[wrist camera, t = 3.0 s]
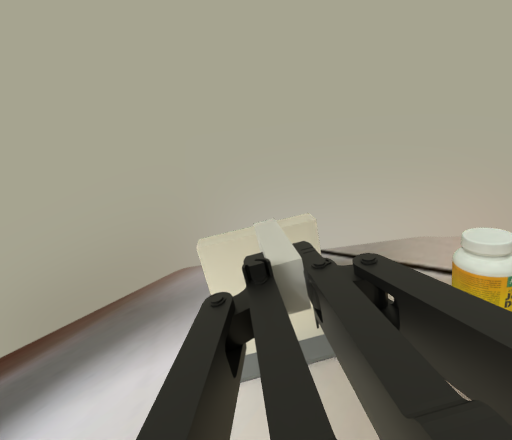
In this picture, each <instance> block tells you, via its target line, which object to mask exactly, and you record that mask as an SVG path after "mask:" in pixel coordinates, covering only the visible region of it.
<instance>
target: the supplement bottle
mask: <svg viewBox="0 0 512 440" xmlns="http://www.w3.org/2000/svg"><path fill="white" fill-rule="evenodd" d="M461 245H462V247H461V248H459V249H458V250H456V251H455V253H454V255H453V262H452V286H453V287H455V288H458V289H460V290H462V291H465V292H467V293H469V294H472V295H474V296H476V297H479V298H481V299H483V300H486V301H488V302H490V303H493V304H495V305H497V306H500V307H502V308H504V309H507V310H509V311H511V312H512V233H510V232H508V231H505V230H501V229H495V228H472V229H469V230H466V231H464V232H463V233H462V238H461Z"/></svg>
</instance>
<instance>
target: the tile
mask: <svg viewBox="0 0 512 440" xmlns="http://www.w3.org/2000/svg"><path fill="white" fill-rule="evenodd" d="M277 223H278V224H279V226H280V227H281V229H282V230H283V232H284V233H285V235H286V236H287V237H288V239H289V240H290V242H291V243H292V244H293V243H297V242H301V241H306V242H309V243H310V244H311V245H312V246H313V247H314V248H315V249H316V250H317V252H318V253H319V254H320V255H321V250H320V243H319V237H318V230H317V222H316V219H315V218H314V217H313V216H311V215H310V214H309V213H307V214H302V215H298V216H294V217H290V218H286V219H282V220H277ZM196 249H197V252H198V255H199V258H200V262H201V265H202V268H203V271H204V275H205V278H206V281H207V284H208V288H209V291H210V294H211V295H213V294H215V293H219V292H228V293H230V294H231V295H232V296H235V295H237V294H239V293H240V292H242V291H243V290H244V289H245V288H246V283H245V279H244V275H243V272H242V265H243V264H244V262H243V261H244V259H245V257H246V256H249V255H253V254H257V253H260V249H259V245H258V240H257V236H256V232H255V228H254V226H252V227H248V228H244V229H240V230H235V231H231V232H227V233H223V234H219V235H215V236H210V237H206V238H202V239H199V240H198V244H197V248H196ZM310 305H311V309H308V310H304V311H300V312H297V313H293V314H289V318H290V320H291V323H292V326H293V328H294V331H295V333H296V336H297V339H298V341H300V340H304V339H308V338H312V337H315V336H319V335H323V334H324V332H323V330H322V328H321V326H320V325H319V328H318V329H317V326H316V321H315V315H314V310H313V305H312V303H311V301H310ZM246 347H247V349H246V354H245V355H248V354H252V353H255V352H257V351H256V345H255V339H252V340H250V341H248V342H247V343H246Z"/></svg>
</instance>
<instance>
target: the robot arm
mask: <svg viewBox="0 0 512 440" xmlns="http://www.w3.org/2000/svg"><path fill="white" fill-rule="evenodd" d="M254 228H255V232H256V236H257V240H258V245H259V249H260V253H257V254H253V255H249V256H246V257H245V259H244V261H243V262H244V264H243V265H242V272H243V275H244V279H245V283H246V288H245V289H244V290H243V291H242V292H240V293H239V294H237V295H235V296H232V295H231V294H230V293H228V292H219V293H215V294H213V295H211V296H209V297H208V298H207V299H206V300H205V301H204V302H203V304H202V306H201V308H200V310H199V312H198V314H197V316H196V318H195V320H194V322H193V324H192V326H191V328H190V330H189V333H188V335H187V337H186V339H185V341H184V343H183V345H182V347H181V349H180V351H179V353H178V355H177V357H176V359H175V361H174V363H173V365H172V367H171V369H170V371H169V373H168V375H167V377H166V379H165V381H164V384H163V386H162V388H161V390H160V392H159V394H158V396H157V398H156V400H155V402H154V404H153V406H152V408H151V410H150V412H149V414H148V416H147V418H146V420H145V422H144V424H143V426H142V428H141V430H140V432H139V435H138V437H137V439H136V440H230V435H231V429H232V424H233V419H234V413H235V408H236V402H237V397H238V392H239V386H240V381H241V375H242V370H243V365H244V359H245V354H246V349H247V347H246V343H247V342H248V341H250V340H252V339H255V345H256V351H257V358H258V364H259V370H260V377H261V383H262V389H263V396H264V402H265V408H266V415H267V421H268V427H269V434H270V440H337V439H336V437H335V435H334V433H333V430H332V428H331V425H330V423H329V420H328V417H327V415H326V412H325V409H324V407H323V404H322V402H321V399H320V396H319V394H318V391H317V388H316V386H315V383H314V381H313V378H312V375H311V373H310V370H309V368H308V365H307V362H306V360H305V357H304V354H303V352H302V349H301V347H300V344H299V341H298V339H297V336H296V333H295V331H294V328H293V326H292V323H291V320H290V318H289V314H293V313H297V312H300V311H304V310H308V309H311V305H310V301H311V303H312V305H313V310H314V315H315V321H316V326H317V329H318V328H319V325H320V326H321V328H322V330H323V332H324V334H325V336H326V338H327V340H328V342H329V344H330V345H331V347H332V349H333V351H334V353H335V355H336V357H337V359H338V361H339V362H340V364H341V366H342V368H343V370H344V372H345V374H346V376H347V378H348V380H349V381H350V383H351V385H352V387H353V389H354V391H355V393H356V395H357V397H358V399H359V400H360V402H361V404H362V406H363V408H364V410H365V412H366V414H367V416H368V418H369V419H370V421H371V423H372V425H373V427H374V429H375V431H376V433H377V435H378V436H379V438H380V440H512V312H511V311H509V310H507V309H504V308H502V307H500V306H497V305H495V304H493V303H490V302H488V301H486V300H483V299H481V298H479V297H476V296H474V295H472V294H469V293H467V292H465V291H462V290H460V289H458V288H455V287H453V286H451V285H448V284H446V283H444V282H441V281H439V280H437V279H434V278H432V277H430V276H427V275H425V274H423V273H420V272H418V271H416V270H413V269H411V268H409V267H406V266H404V265H402V264H399V263H397V262H395V261H392V260H390V259H388V258H385V257H383V256H381V255H378V254H372V253H364V254H360V255H357V256H356V257H354V259H353V265H346V266H337V264H336V263H335V262H334V261H332V260H331V259H328V258H323V257H322V256H321V255H320V254H319V253H318V252H317V250H316V249H315V248H314V247H313V246H312V245H311V244H310V243H309V242H306V241H301V242H297V243H293V244H292V243H291V242H290V240H289V239H288V237H287V236H286V235H285V233H284V232H283V230H282V229H281V227H280V226H279V224H278V223H277V221H276V220H275V219H270V220H267V221H263V222H258V223H255V224H254ZM388 294H390V295H391V296H393V297H394V302H393V301H391V300H390V299H388ZM447 381H448V382H449V383H450V384H451V385H453V386H454V387H455V388H457V389H458V390H459V391H461V392H462V393H463V394H464V395H466V396H467V397H468V398H470V399H471V400H472V401H467V400H465V399H464V398H462V397H461V396H460V395H459V394H458V393H457V392H456V391H455V390H454V389H453V388H452V387H451V386H450V385H449V384H448V383H447Z"/></svg>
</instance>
